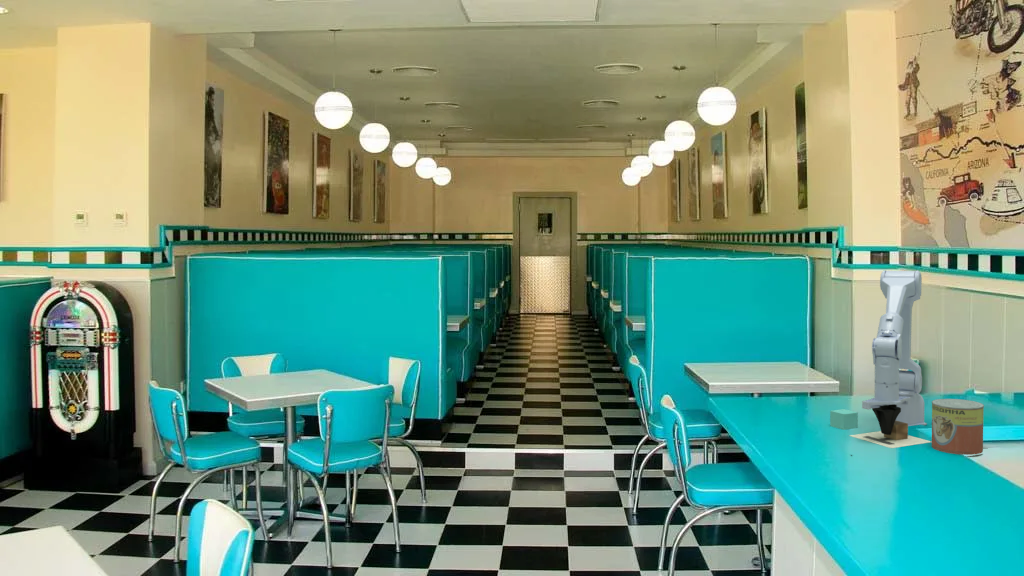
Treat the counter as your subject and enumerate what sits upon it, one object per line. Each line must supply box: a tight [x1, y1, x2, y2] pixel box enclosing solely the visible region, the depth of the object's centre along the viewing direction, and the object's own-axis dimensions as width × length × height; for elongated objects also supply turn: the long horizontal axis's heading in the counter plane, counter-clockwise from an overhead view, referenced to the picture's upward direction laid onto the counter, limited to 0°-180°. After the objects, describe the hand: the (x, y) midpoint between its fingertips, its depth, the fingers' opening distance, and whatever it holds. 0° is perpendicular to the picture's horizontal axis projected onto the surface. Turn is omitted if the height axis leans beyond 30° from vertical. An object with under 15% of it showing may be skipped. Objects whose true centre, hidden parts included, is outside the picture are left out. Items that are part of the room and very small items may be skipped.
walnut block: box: [884, 420, 909, 440], centre depth 205 cm, size 4×4×4 cm
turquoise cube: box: [829, 408, 859, 430], centre depth 218 cm, size 5×5×5 cm
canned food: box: [931, 398, 985, 458], centre depth 194 cm, size 11×11×12 cm
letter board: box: [848, 430, 932, 449], centre depth 205 cm, size 14×14×1 cm
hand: (886, 433), depth 204 cm, fingers closed
